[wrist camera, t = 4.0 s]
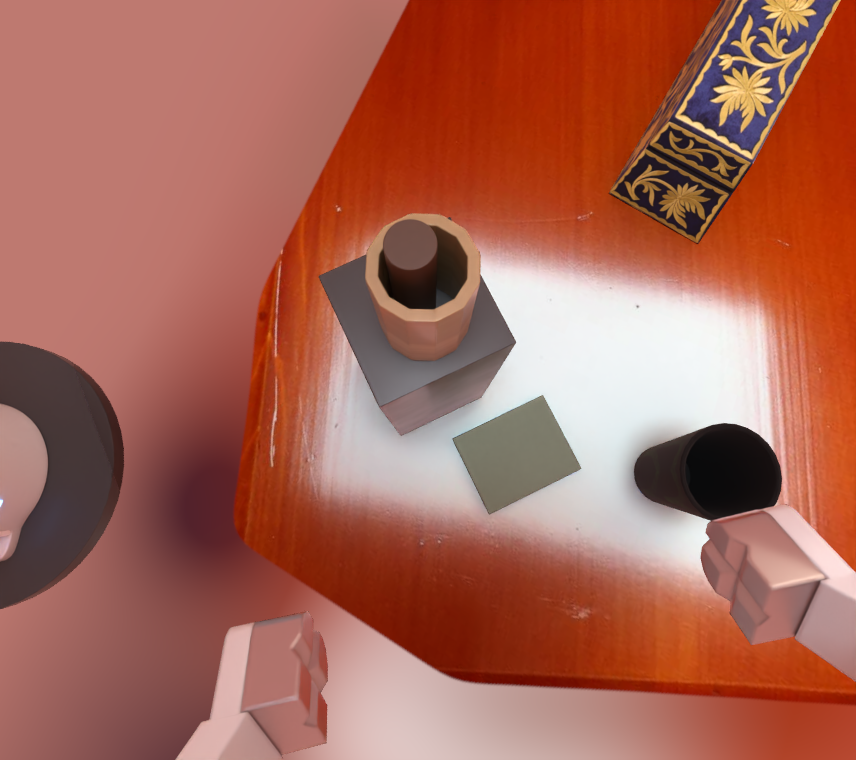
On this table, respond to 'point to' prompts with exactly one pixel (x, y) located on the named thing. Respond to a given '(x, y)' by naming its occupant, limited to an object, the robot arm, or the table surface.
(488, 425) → the felt coaster
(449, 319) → the orange hollow cylinder
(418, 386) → the peg stand
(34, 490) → the robot arm
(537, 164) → the table surface
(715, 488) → the cup
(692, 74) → the decorative box
